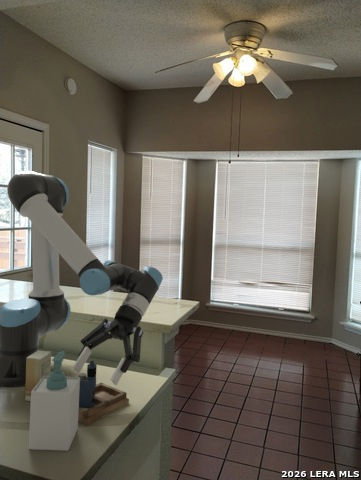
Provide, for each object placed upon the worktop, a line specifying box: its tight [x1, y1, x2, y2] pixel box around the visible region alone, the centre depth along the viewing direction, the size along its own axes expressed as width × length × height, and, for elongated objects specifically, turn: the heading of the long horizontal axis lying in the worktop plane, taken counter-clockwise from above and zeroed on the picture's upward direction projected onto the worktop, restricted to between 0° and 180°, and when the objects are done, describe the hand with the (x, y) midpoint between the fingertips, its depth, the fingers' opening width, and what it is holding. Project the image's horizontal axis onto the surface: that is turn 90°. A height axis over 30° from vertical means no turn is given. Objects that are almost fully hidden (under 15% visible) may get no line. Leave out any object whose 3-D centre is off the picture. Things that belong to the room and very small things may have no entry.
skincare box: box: [24, 349, 52, 402], centre depth 105 cm, size 6×4×12 cm
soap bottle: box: [28, 350, 80, 452], centre depth 85 cm, size 9×9×19 cm
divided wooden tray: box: [78, 382, 130, 426], centre depth 102 cm, size 12×15×3 cm
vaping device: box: [77, 360, 97, 408], centre depth 99 cm, size 3×5×12 cm, turn 80°
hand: (94, 375), depth 101 cm, fingers open, 13 cm apart
